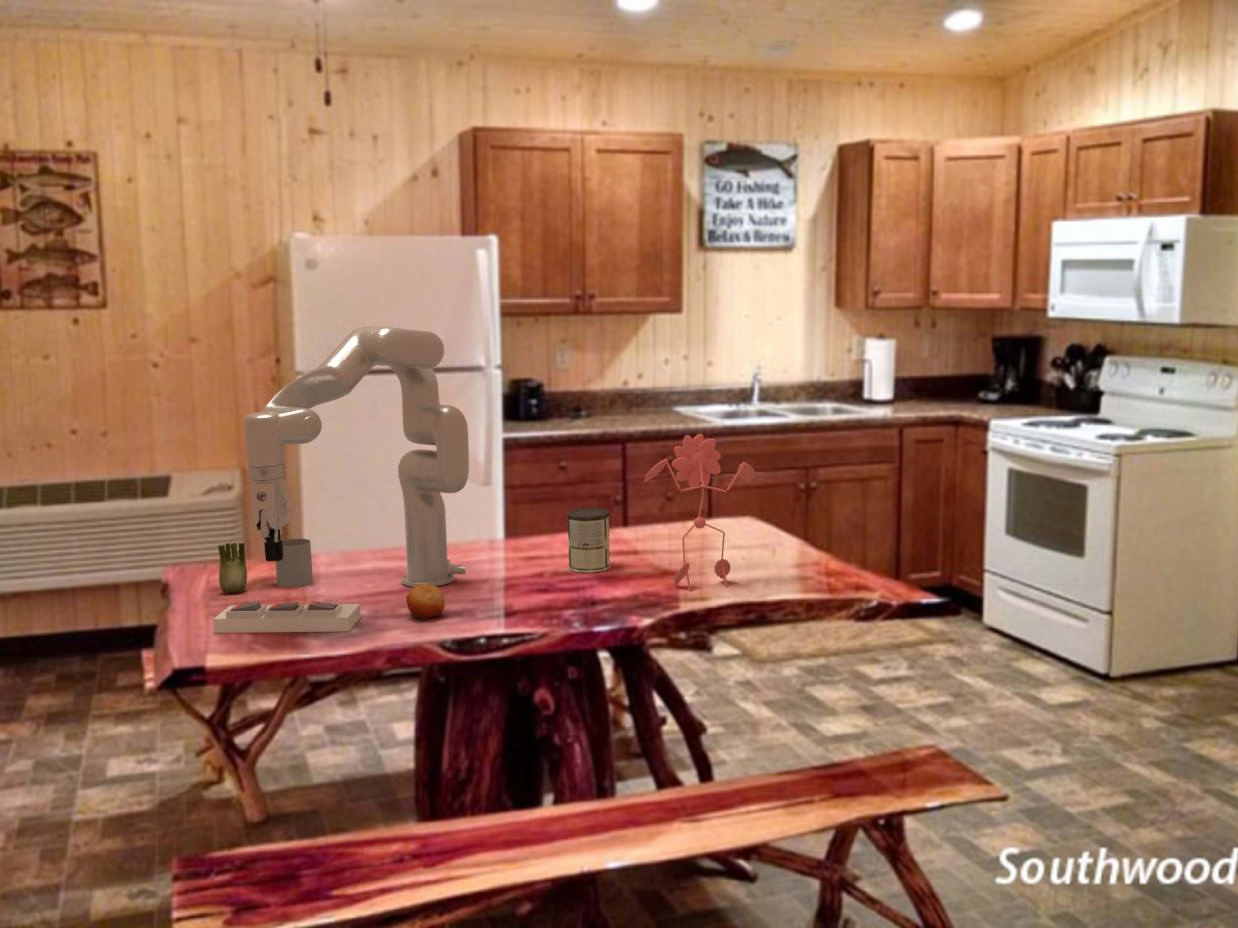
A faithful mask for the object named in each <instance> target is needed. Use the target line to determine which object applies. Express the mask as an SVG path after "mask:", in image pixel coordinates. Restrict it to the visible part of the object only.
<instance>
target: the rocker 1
mask: <svg viewBox="0 0 1238 928" xmlns="http://www.w3.org/2000/svg"><path fill="white" fill-rule="evenodd" d="M236 605H237V604H236ZM260 605H261V602H260V601H254V602H250V603H244V604H243V603H242V604H238V605H237V606H235V607H234V608H233V609H232V610H231V611H257V610H258V609H259V608H260V607H261V606H260Z"/></svg>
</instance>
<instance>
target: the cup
mask: <svg viewBox="0 0 1238 928" xmlns="http://www.w3.org/2000/svg"><path fill="white" fill-rule="evenodd" d="M311 545H312V544H311V540H310V539H308V538H288V539H282V546H283V559H282V560H281V561H275V573H276V586H277V585H278V586H277V587H280V588H284V587H286V588H288V589H290V588H289V587H295V588H302V587H305V586H306V585H307V586H309V585H311V583H312V584H314V579H313V576H314V575H313V564H312V563H313V561H312V547H311Z"/></svg>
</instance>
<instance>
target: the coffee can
mask: <svg viewBox="0 0 1238 928" xmlns="http://www.w3.org/2000/svg"><path fill="white" fill-rule="evenodd" d="M566 516H567V531H568V535H567V536H568V540H567V541H568V565H569V566H568V569H569V570H570V571H571V572H576V573H583V574H590V573H591V574H593V573H601V572H604V571H608V570H609V569H611V562H610V561H611V560H610V557H611V555H610V523H609V522H610V520H609V519H610V518H609V517H610V511H609V510H608V509H605V508H598V507H597V508H596V507H594V508H593V507H584V508H583V507H582V508H576V509H571V510H569V511H567V513H566Z"/></svg>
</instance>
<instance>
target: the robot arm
mask: <svg viewBox="0 0 1238 928" xmlns="http://www.w3.org/2000/svg"><path fill="white" fill-rule="evenodd" d="M444 355H445V345H444V343H443V340H442V339H441V337H440V336H439V335H437V334H436V333H435V332H432V331H429V330H420V329H419V330H417V329H408V328H406V329H405V328H398V327H392V326H361V327H358V328H355V329H353V330H352V331H350V333H349V334H348V335H347V336H346V337H345V338H344V339H343V340H342V341H341V343H340V344H338V345H337V347H336V348H335V349H334V350H333V351H332V352H331V353H330V354H329V355H328V356H327V358H325V360H324V361H323V362H322V363H321V364H320V365H319V366H317V367H316V368H315V369H312V370H311V371H308V372H306V373H305V374H304V375H302V376H300V377H299V378H297V379H295V380H293V381H291V382H290V383H288V384H287V385H286V386H285V385H284V387H283V388H281V389H280V390H279V391H278V392H276V394H275V395H274V396H273V397H272V398H271V399H270V400H269V401H268V402H267V403H266V405H265V406H264V407H263V408H262V410H261V411H260V412H257V411H256V412H250V413H249V414H246V415H245V417H244V418H243V433H244V443H245V453H246V463H247V479H248V482H249V483H252V484H251V485H252V486H251V488H252V489H251V490H252V491H251V492H252V493H251V494H252V496H251V497H252V514H253V517H252V518H253V525H254V528H255V530H257V531H260V537H261V538H262V539H263V543H264V544H263V545H264V554H265V561H266V562H276V561H281V560H282V559H283V546H282V540H283V527H285V526H286V525H287V524H288V523H290V521H291V519H292V515H291V505H290V499H289V491H288V486H287V481H286V480H287V477H288V476H287V475H288V474H287V466H286V465H287V464H286V451H285V449H286V448H285V446H286V445H305V444H309V443H310V442H313V441H315V440H316V439H317V438H318V437H319V436H320V434H321V431H322V427H323V426H322V419H321V417H320V416H319V415H318V413H316V412H315V411H313V410H312V408H314V407H316V406H318V405H322V404H325V403H329V402H332V401H337V400H338V399H339V400H340V399H342V398H344V397H346V396H347V395H349V394H350V393H351V392H352V391H353V390H354V389H355V388H356V386H357V385H358V384H359V383H360V382H361V381H362V380H363V379H364V378H365V376H366V375H367V374H368V373H369V372H370V371H371V370H372V368H373V367H376V366H382V367H383V366H384V367H388V368H390V369H391V370H392V372H393V373H395V375H396V377H397V378H398V380H399V383H400V388H401V405H402V428H403V433H404V436H405V438H406V439H407V440H408V441H409V442H411V443H414V444H418V445H427V446H436V448H435V449H436V450H433V449H432V450H431V449H419V448H418V449H413V450H410V451H408V452H406V453H405V454H403V456H402V457H401V458H400V460H399V462H398V466H397V474H398V475H397V476H398V480H399V483H400V488H401V491H402V498H403V499H402V500H403V507H404V527H405V528H404V529H405V530H404V531H405V547H406V548H405V549H406V568H407V569H406V570H407V573H405V574H404V575H402V576H401V578H400V579H401V580H400V581H401V584H403V585H405V586H407V587H411V588H413V587H415V586H417V585H419V584H423V583H427V584H430V585H432V586H436V587H439V586H444V585H448V584H450V583H452V582H454V581H455V579H456V578H455V576H456V575H466V574H467V567H466V565H463V564H453V563H451V559H448V546H447V544H448V543H447V523H446V522H447V521H446V520H447V519H446V507H445V501H444V499H443V497H442V494H455V493H458V492H460V491H461V490H463V489H464V487H466V484H467V482H468V479H469V473H470V452H469V450H470V449H469V448H470V447H469V427H468V423H467V419H466V417H465V414H463V412H462V411H461V410H460V409H459V408H458V407H456V406H453V405H450V404H448V405H447V404H441V403H440V394H439V383H438V379H437V376H436V373H435V371H434V368H436V367H437V366H438V365H440V363H442V360H443V358H444ZM441 493H442V494H441Z"/></svg>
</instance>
